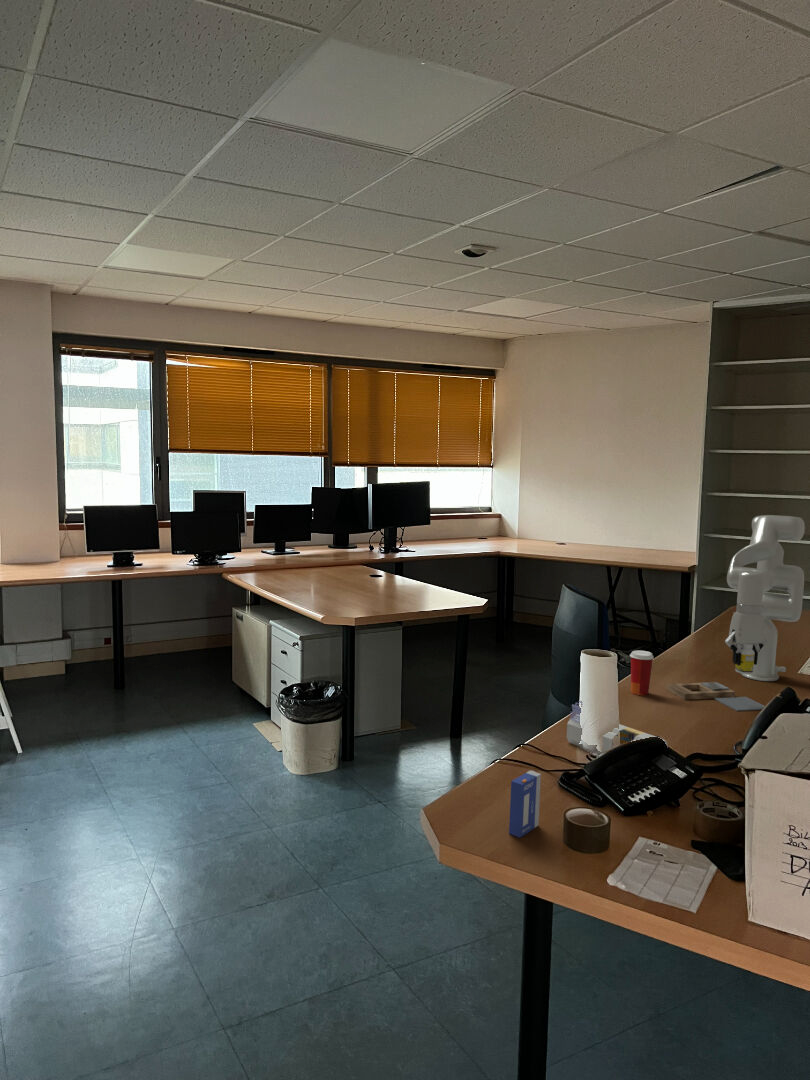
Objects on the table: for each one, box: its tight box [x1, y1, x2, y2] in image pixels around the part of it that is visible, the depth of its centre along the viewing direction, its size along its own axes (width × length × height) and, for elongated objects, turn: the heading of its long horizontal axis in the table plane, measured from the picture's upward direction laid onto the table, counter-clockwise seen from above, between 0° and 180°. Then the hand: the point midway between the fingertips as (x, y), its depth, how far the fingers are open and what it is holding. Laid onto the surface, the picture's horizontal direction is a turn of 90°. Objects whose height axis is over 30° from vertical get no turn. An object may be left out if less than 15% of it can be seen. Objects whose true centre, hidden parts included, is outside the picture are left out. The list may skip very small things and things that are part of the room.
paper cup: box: [629, 650, 654, 696], centre depth 265 cm, size 8×8×14 cm
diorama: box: [566, 700, 669, 755], centre depth 211 cm, size 25×10×13 cm, turn 39°
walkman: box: [508, 770, 542, 839], centre depth 166 cm, size 8×3×12 cm, turn 140°
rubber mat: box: [713, 696, 766, 712], centre depth 256 cm, size 12×12×1 cm
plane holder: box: [666, 681, 736, 701], centre depth 267 cm, size 19×11×3 cm, turn 103°
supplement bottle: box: [734, 644, 755, 675], centre depth 255 cm, size 5×5×10 cm
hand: (744, 663), depth 255 cm, fingers closed on supplement bottle, 5 cm apart
